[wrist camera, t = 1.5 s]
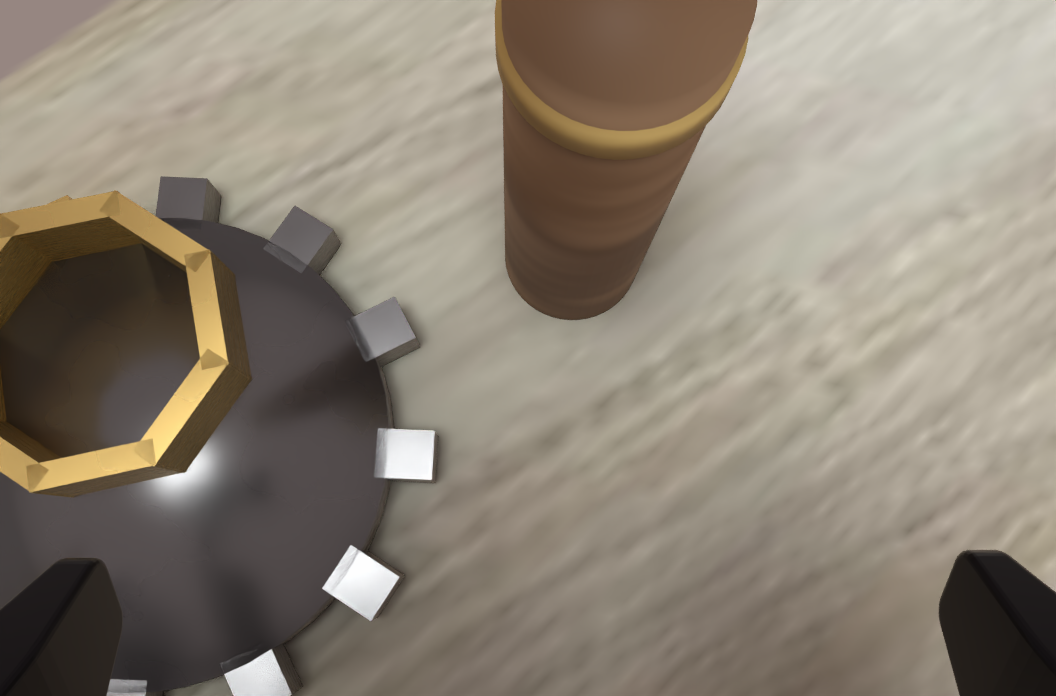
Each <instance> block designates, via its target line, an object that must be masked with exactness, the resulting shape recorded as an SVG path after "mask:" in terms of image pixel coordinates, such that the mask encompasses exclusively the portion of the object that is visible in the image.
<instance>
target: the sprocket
mask: <svg viewBox="0 0 1056 696" xmlns="http://www.w3.org/2000/svg"><path fill="white" fill-rule="evenodd" d="M220 201H221V195H220V194H219V192H218V191H217V190H216V189H215V188H214V186H213V185H212V184H211V183H210V181H209V180H208V179H204V178H182V177H161V179H160V187H159V194H158V202H157V209H156V216H154V215H153V214H151V213H150V212H148V211H147V210H145V209H143V208H142V207H140V206H139V205H137V204H136V203H134V202H132V201H131V200H129V199H128V198H126V197H125V196H123V195H121V194H120V193H119V192H118V191H115V190H114V191H113V192H108V193H103V194H98V195H93V196H88V197H83V198H78V199H72V198H70V197H69V196H68V195H66V196H64V197H62V198H60V199H58V200H56V201H53V202H51V203H49V204H47V205H43V206H38V207H33V208H28V209H23V210H18V211H12V212H7V213H2V214H0V609H1V608H2V607H3V606H4V605H5V604H7V603H8V602H9V601H10V600H11V599H12V598H14V597H15V596H16V595H17V594H18V593H19V592H21V591H22V590H23V589H24V588H25V587H26V586H28V585H29V584H30V583H31V582H32V581H34V580H35V579H36V578H37V577H38V576H39V575H41V574H42V573H43V572H44V571H45V570H46V569H48V568H49V567H50V566H51V565H52V564H54V563H55V562H57V561H59V560H61V559H64V558H98V559H100V560H102V561H103V562H104V563H105V565H106V567H107V569H108V572H109V575H110V577H111V580H112V583H113V586H114V588H115V591H116V594H117V596H118V599H119V602H120V605H121V608H122V613H123V626H122V633H121V637H120V641H119V646H118V650H117V654H116V658H115V663H114V667H113V671H112V675H111V680H110V684H109V688H108V692H107V696H163V693H164V690H170V689H176V688H182V687H187V686H190V685H193V684H197V683H200V682H203V681H206V680H210V679H213V678H216V677H219V676H221V675H223V674H224V675H225V677H226V680H227V682H228V684H229V687H230V689H231V691H232V693H233V696H290V695H292V694H293V693H295V692H296V691H298V690H299V689H301V688H302V687H303V686H302V684H301V681H300V679H299V677H298V675H297V673H296V670H295V668H294V666H293V664H292V662H291V659H290V657H289V655H288V653H287V650H286V648H285V646H284V643H286V642H287V641H289V640H290V639H291V638H293V637H294V636H295V635H296V634H298V633H299V632H300V631H301V630H303V629H304V628H305V627H306V626H308V625H309V624H310V623H311V622H313V621H314V620H315V619H316V618H317V617H318V616H319V615H320V614H321V613H322V612H323V611H324V610H325V608H326V607H327V606H328V605H329V604H330V603H331V602H332V601H333V600H334V599H335V598H337V599H338V600H340V601H341V602H343V603H344V604H346V605H347V606H349V607H350V608H352V609H353V610H355V611H356V612H358V613H359V614H361V615H362V616H364V617H365V618H367V619H368V620H370V621H372V620H374V619H376V618H378V617H379V615H380V613H381V612H382V610H383V609H384V607H385V606H386V604H387V603H388V601H389V599H390V598H391V596H392V595H393V593H394V592H395V590H396V589H397V587H398V586H399V584H400V582H401V581H402V579H403V578H404V576H405V575H403V574H402V573H400V572H399V571H397V570H396V569H394V568H393V567H391V566H390V565H388V564H387V563H385V562H384V561H382V560H381V559H379V558H378V557H376V556H375V555H373V554H372V553H370V552H369V551H367V550H368V549H369V547H370V545H371V543H372V540H373V538H374V535H375V533H376V531H377V528H378V526H379V523H380V521H381V518H382V516H383V512H384V508H385V505H386V501H387V497H388V494H389V490H390V485H391V481H400V482H424V483H436V467H437V451H438V435H437V433H436V432H435V431H429V430H406V429H394V421H393V413H392V405H391V399H390V395H389V391H388V387H387V384H386V380H385V376H384V372H383V370H382V368H381V367H382V366H384V365H386V364H388V363H390V362H392V361H394V360H396V359H398V358H400V357H402V356H404V355H406V354H408V353H410V352H412V351H414V350H416V349H418V348H420V346H419V344H418V341H417V339H416V337H415V335H414V333H413V331H412V329H411V327H410V325H409V323H408V321H407V319H406V318H405V316H404V314H403V312H402V310H401V308H400V306H399V304H398V302H397V300H396V298H395V297H392V298H390V299H388V300H386V301H384V302H382V303H380V304H378V305H376V306H374V307H372V308H370V309H368V310H366V311H364V312H362V313H360V314H358V315H356V316H354V315H353V314H352V312H351V311H350V309H349V308H348V307H347V306H346V304H345V303H344V302H343V301H342V299H341V298H340V297H339V296H338V294H337V293H336V292H335V290H334V289H333V288H332V287H331V286H330V285H329V284H328V283H327V282H326V281H325V280H324V279H323V278H321V277H320V276H319V275H320V273H321V272H322V271H323V269H324V268H325V266H326V265H327V264H328V262H329V261H330V259H331V258H332V256H333V255H334V254H335V252H336V251H337V249H338V248H339V247H340V245H341V243H340V241H339V239H338V237H337V235H336V234H335V232H334V230H333V229H332V228H330V227H328V226H327V225H325V224H324V223H322V222H320V221H319V220H317V219H316V218H314V217H312V216H311V215H309V214H308V213H306V212H304V211H303V210H301V209H300V208H298V207H296V206H294V207H293V209H292V210H291V211H290V213H289V214H288V215H287V217H286V218H285V220H284V221H283V222H282V224H281V225H280V226H279V228H278V229H277V231H276V232H275V233H274V235H273V236H272V237H271V239H270V240H269V241H268V240H266V239H265V238H262V237H260V236H257V235H254V234H252V233H249V232H247V231H244V230H241V229H239V228H236V227H232V226H227V225H223V224H219V223H218V218H219V210H220Z"/></svg>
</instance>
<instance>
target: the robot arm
mask: <svg viewBox="0 0 1056 696" xmlns="http://www.w3.org/2000/svg"><path fill="white" fill-rule="evenodd" d="M939 620H940V625H941V628H942V632H943V636H944V639H945V643H946V647H947V650H948V654H949V658H950V662H951V665H952V669H953V673H954V676H955V680H956V684H957V687H958V691H959V695H960V696H1056V592H1055V591H1053V590H1052V589H1051V588H1050V587H1048V586H1047V585H1046V584H1044V583H1043V582H1042V581H1041V580H1039V579H1038V578H1037V577H1036V576H1034V575H1033V574H1032V573H1031V572H1029V571H1028V570H1027V569H1026V568H1024V567H1023V566H1022V565H1020V564H1019V563H1018V562H1017V561H1015V560H1014V559H1013V558H1012V557H1010V556H1009V555H1007V554H1006V553H1004V552H1002V551H998V550H966V551H963V552H962V553H960V554H959V555H958V556H957V558H956V560H955V563H954V565H953V568H952V570H951V573H950V576H949V578H948V581H947V583H946V586H945V588H944V591H943V593H942V596H941V599H940V603H939ZM122 626H123V613H122V608H121V605H120V602H119V599H118V596H117V594H116V591H115V588H114V586H113V583H112V580H111V577H110V575H109V572H108V569H107V567H106V565H105V563H104V562H103V561H102V560H100V559H98V558H64V559H61V560H59V561H57V562H55V563H54V564H52V565H51V566H50V567H49V568H48V569H46V570H45V571H44V572H43V573H42V574H41V575H39V576H38V577H37V578H36V579H35V580H34V581H32V582H31V583H30V584H29V585H28V586H26V587H25V588H24V589H23V590H22V591H21V592H19V593H18V594H17V595H16V596H15V597H14V598H12V599H11V600H10V601H9V602H8V603H7V604H5V605H4V606H3V607H2V608H1V609H0V696H107V692H108V688H109V684H110V680H111V675H112V671H113V667H114V663H115V658H116V654H117V650H118V646H119V641H120V637H121V633H122Z"/></svg>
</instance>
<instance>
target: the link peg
mask: <svg viewBox="0 0 1056 696" xmlns="http://www.w3.org/2000/svg"><path fill="white" fill-rule="evenodd" d="M756 7H757V0H496V8H495V40H496V59H497V65H498V71H499V74H500V77H501V80H502V84H503V140H504V206H505V261H506V268H507V272H508V275H509V278H510V280H511V282H512V284H513V286H514V288H515V289H516V291H517V292H518V294H519V295H520V296H521V297H522V298H523V299H524V300H525V301H526V302H527V303H528V304H529V305H530V306H532V307H533V308H535V309H536V310H538V311H540V312H542V313H544V314H546V315H549V316H551V317H555V318H559V319H567V320H579V319H586V318H590V317H594V316H597V315H599V314H601V313H604V312H605V311H607V310H609V309H610V308H612V307H613V306H614V305H615V304H617V303H618V302H619V301H620V300H621V299H622V298H623V297H624V295H625V294H626V293H627V291H628V290H629V288H630V286H631V284H632V283H633V280H634V278H635V276H636V274H637V272H638V270H639V268H640V265H641V263H642V261H643V259H644V257H645V255H646V253H647V250H648V248H649V246H650V244H651V242H652V240H653V238H654V235H655V233H656V231H657V229H658V227H659V225H660V223H661V220H662V218H663V216H664V214H665V212H666V210H667V208H668V205H669V203H670V201H671V199H672V197H673V195H674V193H675V190H676V188H677V186H678V184H679V182H680V180H681V178H682V175H683V173H684V171H685V169H686V167H687V165H688V163H689V160H690V158H691V156H692V154H693V152H694V150H695V148H696V145H697V143H698V141H699V139H700V137H701V135H702V133H703V130H704V128H705V126H706V124H707V123H708V122H709V121H710V120H711V119H712V118H713V117H714V115H715V114H716V113H717V111H718V110H719V109H720V107H721V105H722V103H723V102H724V100H725V98H726V96H727V94H728V92H729V90H730V88H731V86H732V84H733V82H734V80H735V78H736V76H737V73H738V71H739V69H740V67H741V64H742V61H743V59H744V56H745V52H746V47H747V42H748V34H749V31H750V29H751V26H752V23H753V21H754V17H755V12H756Z"/></svg>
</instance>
